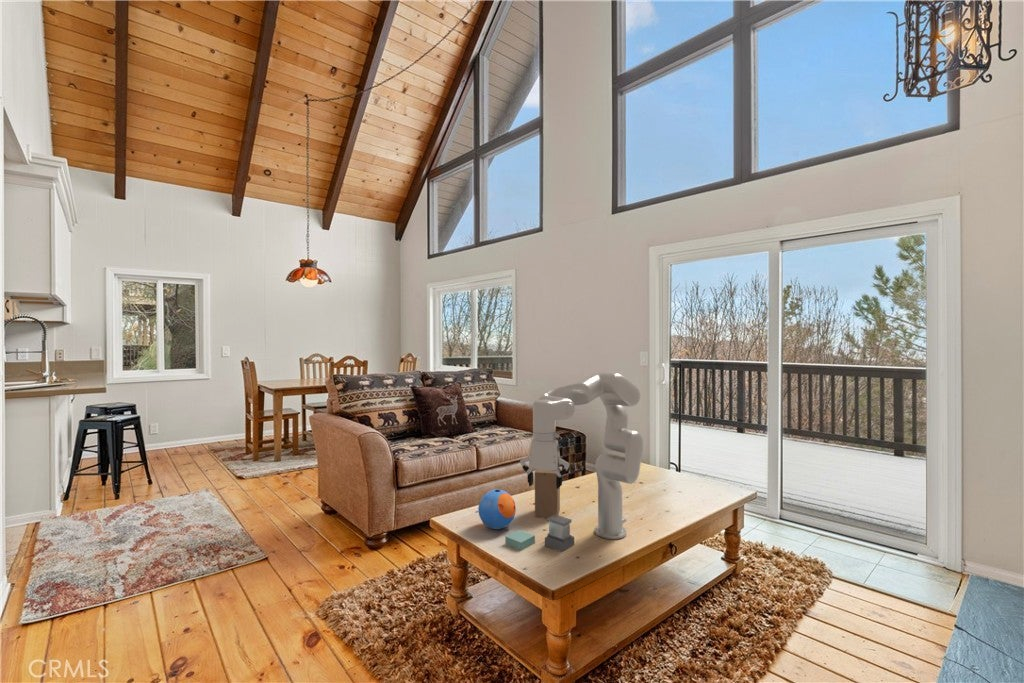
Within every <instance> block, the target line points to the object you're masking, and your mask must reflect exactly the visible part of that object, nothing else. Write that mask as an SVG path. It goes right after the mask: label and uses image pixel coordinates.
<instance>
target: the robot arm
mask: <svg viewBox="0 0 1024 683" xmlns="http://www.w3.org/2000/svg"><path fill="white" fill-rule="evenodd" d="M597 398H600V401H601V402H602V404H603V406H604V408H605V411H606V420H605V425H604V426H605V427H604V432H603V433H604V434H603V446H604V448H605V449H606V450H608V451H612V452H616V453H619V454H624V456H620V455H616V454H612V453H603V454H600V455H598V457H597V458H596V460H595V464H594V466H595V467H594V469H595V471H596V472H595V474H596V479H597V492H598V493H597V512H598V513H597V518H598V519H597V525H596V526H595V527H594V530H593V531H594V533H595V535H596V536H598V537H600V538H602V539H605V540H606V539H607V540H619V539H622V538H624V537H625V536H627V530H626V529H625V527H623V525H624V523H626V522H627V518H626V517H624V516H623V488H622V485H621V483H624V484H634V483H636V482H637V480H638V478H639V475H640V471H641V466H642V465H641V464H642V456H643V451H644V440H643V437H642V435H641V433H640V432H638V431H637V430H632V429H628V422H629V414H628V412H627V409H626V407H636V406H637V405H638V404H639V402H640V400H641V393H640V389H639V388H638V387H637V386H636V385H635V384H634V383H633V382H632V381H630V380H629V379H628V378H626V377H625V376H624V375H622V374H620V373H617V372H607V371H606V372H605V371H597V372H594V373H592V374H590V375H589V376H587V377H585V378H584V379H581V380H580V381H578V382H576V383H572V384H568V385H563V386H561V387H557V388H554V389H551V390H549V391H547V392H544V394H542V395H541V396H540V397H539V398H538V399H537V400H534V401H533V403H532V439H531V441H530V448H529V455H527V456H526V457H524V458H521V459H520V460H519V463H520V465H521V468H522V469H523V470H524V472H525V474H526V475H527V484H528V486H529V487H532V486H533V484H534V472H533V470H535V471H536V470H544V471H554V472H555V473H556V474H557V477H556V488H557V489H559V488H561V486H563V475H564V474H566V472H567V471H568V469H569V467H570V465H571V464H570V462H568V461H566V460H565V459H563V458H561V453H560V446H559V440H558V439H559V438H560V433H557V431H556V421H557V420H560V421H562V420H568V419H570V418H572V417H573V416H574V414H575V412H576V406H582V405H587V404H589V403H591V402H592V401H594V400H596V399H597ZM526 462H528V465H527V464H526ZM561 465H562V466H564V467H563V468H562V469H561V468H560V466H561Z"/></svg>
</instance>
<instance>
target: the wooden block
mask: <svg viewBox="0 0 1024 683" xmlns="http://www.w3.org/2000/svg"><path fill="white" fill-rule="evenodd" d="M556 477H557V474H556V473H555V472H554V471H544V470H535V472H534V517H535V518H541V519H543V518H544V519H547V518H549V517H551V516H553V515H555V514H556V515H559V514H560V512H561V502H560V501H561V495H560V494H561V492H560V491H561V489H560V488H561V487H560V488H559V489H557V488H556ZM559 516H560V515H559Z"/></svg>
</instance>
